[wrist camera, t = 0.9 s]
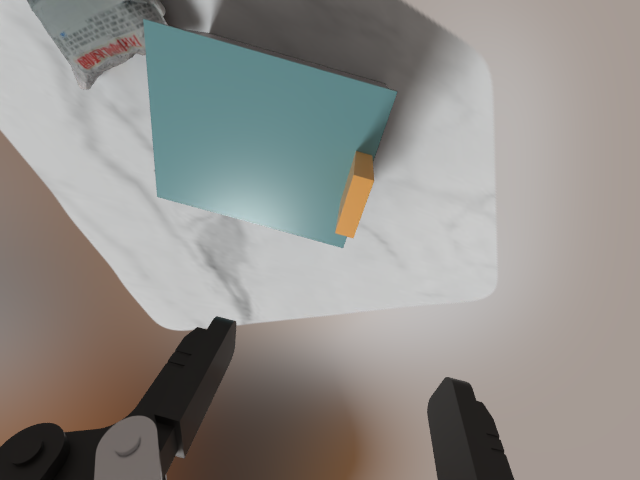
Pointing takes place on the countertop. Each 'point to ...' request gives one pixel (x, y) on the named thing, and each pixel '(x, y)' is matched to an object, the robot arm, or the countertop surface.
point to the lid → (261, 135)
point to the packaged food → (97, 31)
